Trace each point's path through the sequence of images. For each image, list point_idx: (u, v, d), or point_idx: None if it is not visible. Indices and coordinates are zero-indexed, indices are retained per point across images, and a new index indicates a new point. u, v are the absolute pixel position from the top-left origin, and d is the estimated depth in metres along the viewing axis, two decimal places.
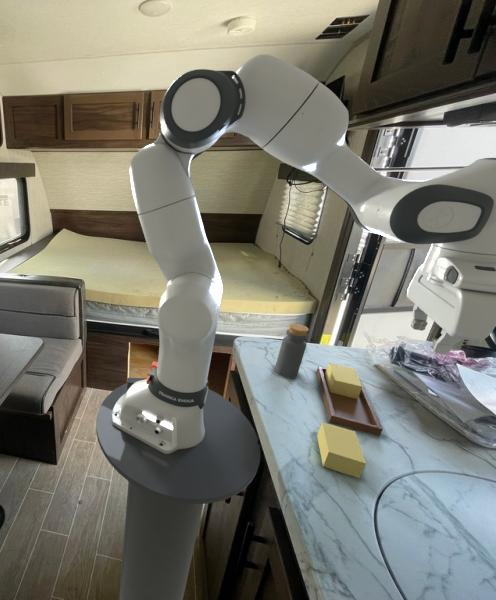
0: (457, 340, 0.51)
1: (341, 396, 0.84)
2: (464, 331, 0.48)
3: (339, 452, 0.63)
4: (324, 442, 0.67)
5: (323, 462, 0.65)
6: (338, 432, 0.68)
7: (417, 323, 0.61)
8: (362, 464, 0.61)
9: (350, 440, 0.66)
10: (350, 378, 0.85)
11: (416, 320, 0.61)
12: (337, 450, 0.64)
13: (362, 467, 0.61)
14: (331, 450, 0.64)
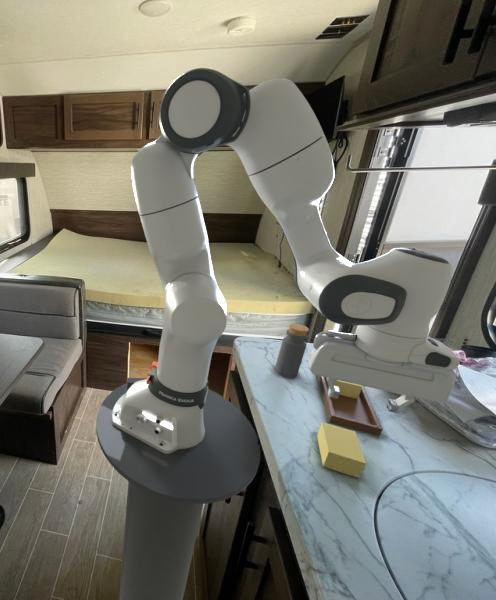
0: None
1: (341, 396, 0.84)
2: None
3: (339, 452, 0.63)
4: (324, 442, 0.67)
5: (323, 462, 0.65)
6: (338, 432, 0.68)
7: None
8: (362, 464, 0.61)
9: (350, 440, 0.66)
10: None
11: (337, 391, 0.63)
12: (337, 450, 0.64)
13: (362, 467, 0.61)
14: (331, 450, 0.64)
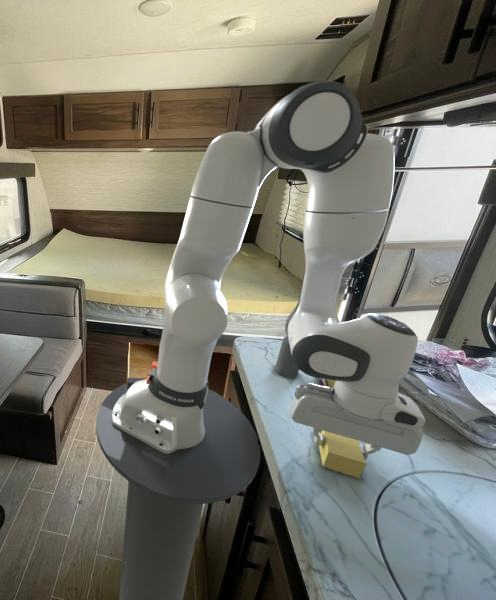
0: None
1: None
2: None
3: (339, 452, 0.63)
4: (324, 442, 0.67)
5: (323, 462, 0.65)
6: None
7: None
8: (362, 464, 0.61)
9: (350, 440, 0.66)
10: None
11: (323, 439, 0.67)
12: (337, 450, 0.64)
13: (362, 467, 0.61)
14: (331, 450, 0.64)
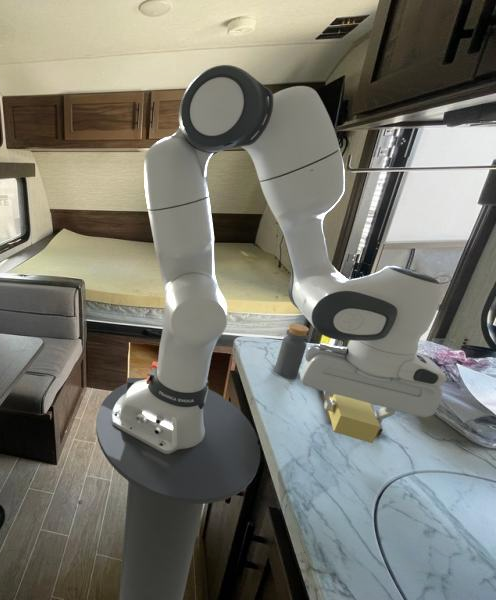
0: None
1: None
2: None
3: (351, 416, 0.60)
4: (335, 407, 0.63)
5: (334, 427, 0.62)
6: (350, 398, 0.65)
7: None
8: (376, 428, 0.58)
9: (362, 405, 0.63)
10: None
11: (334, 404, 0.63)
12: (350, 414, 0.60)
13: (376, 431, 0.58)
14: (343, 414, 0.60)
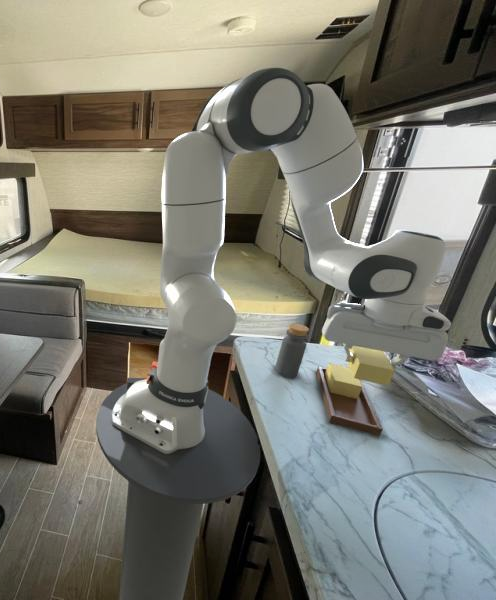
0: None
1: (341, 396, 0.84)
2: None
3: (369, 363, 0.69)
4: (354, 358, 0.72)
5: (354, 374, 0.71)
6: (367, 350, 0.74)
7: None
8: (391, 371, 0.67)
9: (378, 355, 0.72)
10: (350, 378, 0.85)
11: (353, 356, 0.73)
12: (367, 361, 0.69)
13: (391, 374, 0.67)
14: (362, 361, 0.69)
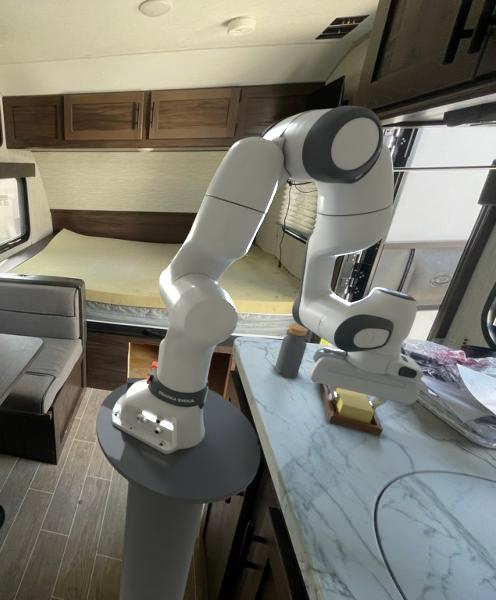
0: None
1: None
2: None
3: (351, 404, 0.75)
4: (338, 398, 0.79)
5: (337, 414, 0.77)
6: None
7: None
8: (371, 413, 0.73)
9: (360, 396, 0.78)
10: None
11: (337, 396, 0.79)
12: (350, 403, 0.76)
13: (371, 416, 0.73)
14: (345, 403, 0.76)
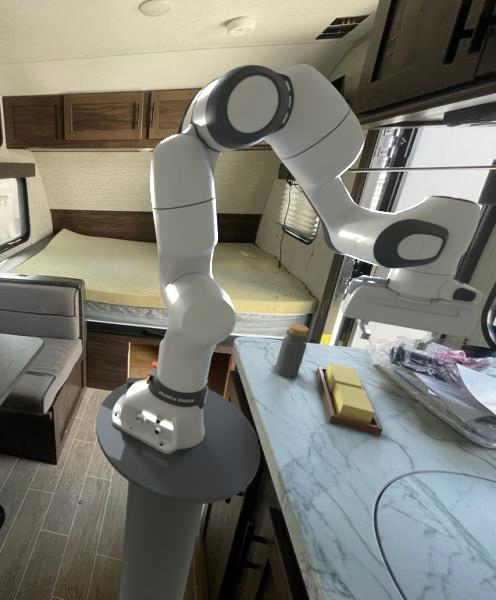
0: None
1: None
2: None
3: (351, 404, 0.75)
4: (338, 398, 0.79)
5: (338, 414, 0.77)
6: (350, 390, 0.80)
7: None
8: (371, 413, 0.73)
9: (360, 396, 0.78)
10: (350, 378, 0.85)
11: (368, 332, 0.69)
12: (350, 403, 0.76)
13: (371, 416, 0.73)
14: (345, 403, 0.76)
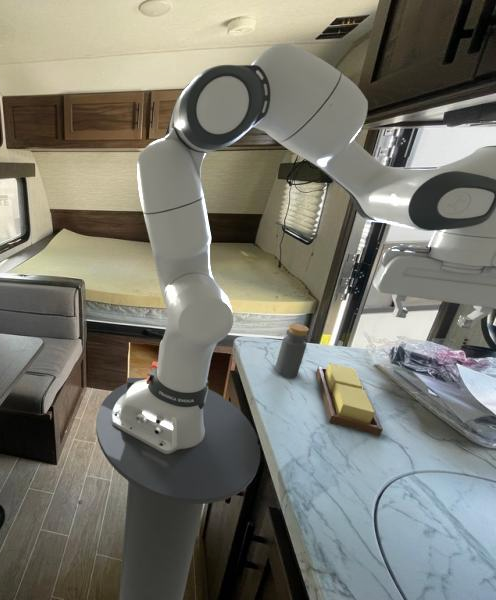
0: None
1: None
2: None
3: (351, 404, 0.75)
4: (338, 398, 0.79)
5: (338, 414, 0.77)
6: (350, 390, 0.80)
7: None
8: (371, 413, 0.73)
9: (360, 396, 0.78)
10: (350, 378, 0.85)
11: (405, 309, 0.61)
12: (350, 403, 0.76)
13: (371, 416, 0.73)
14: (345, 403, 0.76)
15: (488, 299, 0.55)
